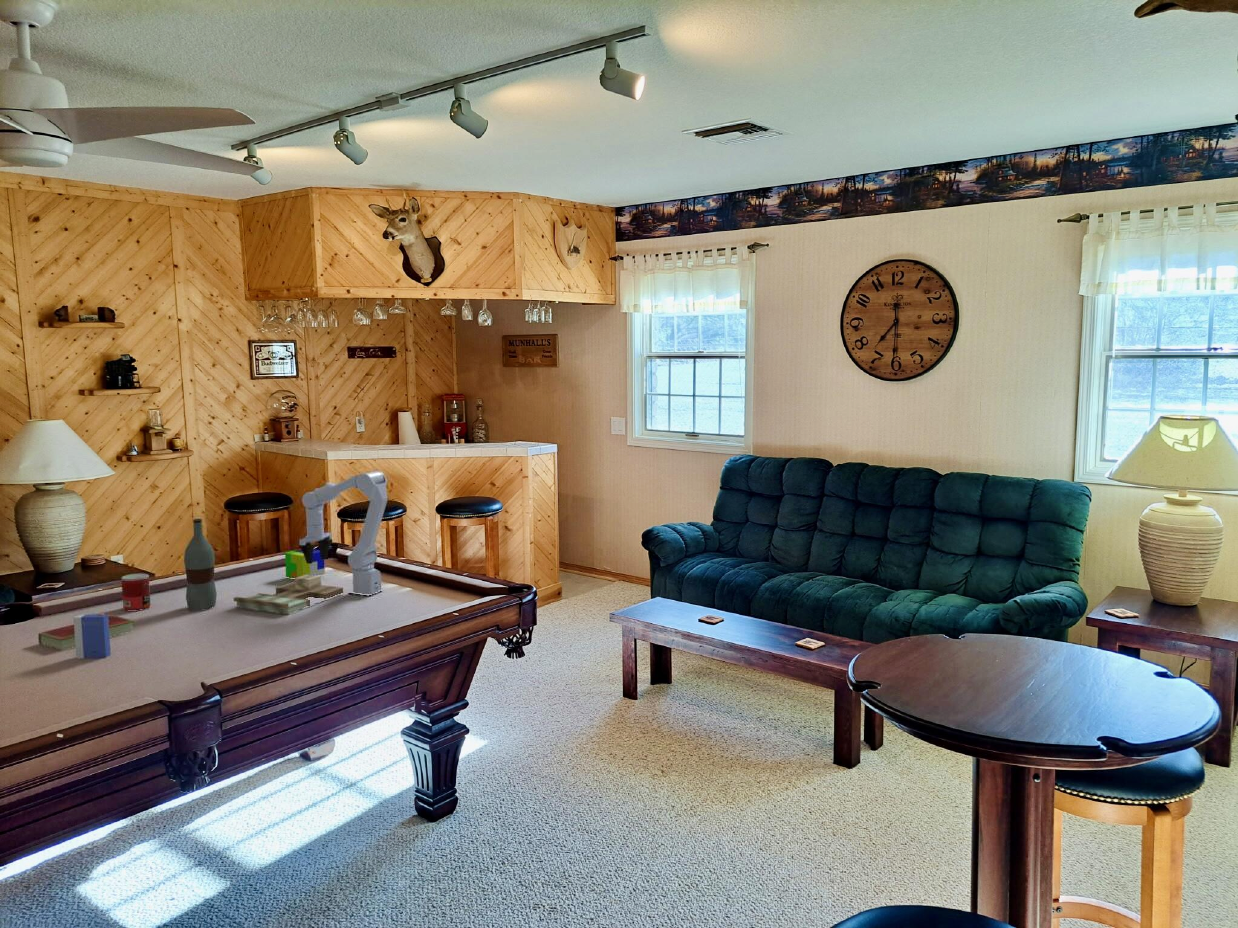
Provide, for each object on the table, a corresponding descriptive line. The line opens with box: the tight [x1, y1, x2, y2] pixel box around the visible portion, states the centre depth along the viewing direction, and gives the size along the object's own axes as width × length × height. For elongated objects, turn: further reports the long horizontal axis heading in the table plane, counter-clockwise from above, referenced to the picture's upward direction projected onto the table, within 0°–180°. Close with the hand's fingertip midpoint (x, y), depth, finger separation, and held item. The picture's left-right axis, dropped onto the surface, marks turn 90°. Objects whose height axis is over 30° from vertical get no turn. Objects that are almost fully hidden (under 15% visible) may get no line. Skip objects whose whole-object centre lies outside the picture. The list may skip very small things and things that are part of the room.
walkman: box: [73, 612, 112, 659], centre depth 236 cm, size 8×3×12 cm, turn 96°
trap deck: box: [233, 581, 344, 615], centre depth 293 cm, size 22×28×4 cm
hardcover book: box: [37, 614, 135, 651], centre depth 252 cm, size 12×21×4 cm, turn 151°
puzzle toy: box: [284, 549, 326, 578], centre depth 326 cm, size 10×10×10 cm
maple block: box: [294, 574, 322, 591], centre depth 301 cm, size 6×6×4 cm
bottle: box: [183, 518, 218, 611], centre depth 283 cm, size 9×9×30 cm
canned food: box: [121, 573, 151, 611], centre depth 283 cm, size 8×8×11 cm
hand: (316, 561), depth 309 cm, fingers open, 7 cm apart
